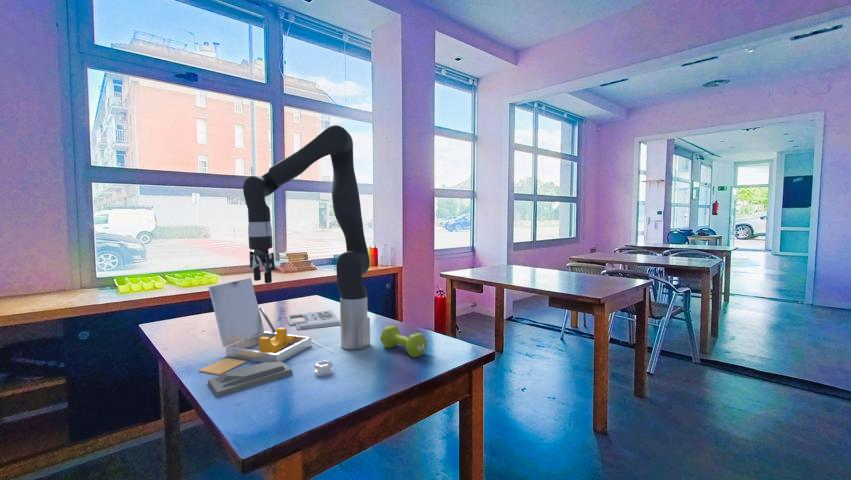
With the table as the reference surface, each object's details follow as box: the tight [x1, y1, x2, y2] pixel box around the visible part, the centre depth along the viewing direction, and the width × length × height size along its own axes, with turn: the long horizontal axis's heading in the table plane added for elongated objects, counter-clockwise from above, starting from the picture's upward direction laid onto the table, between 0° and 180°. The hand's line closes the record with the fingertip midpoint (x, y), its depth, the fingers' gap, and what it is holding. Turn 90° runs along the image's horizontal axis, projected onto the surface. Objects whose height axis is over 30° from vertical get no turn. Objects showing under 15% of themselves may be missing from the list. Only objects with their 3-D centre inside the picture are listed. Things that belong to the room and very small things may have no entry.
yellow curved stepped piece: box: [258, 326, 288, 353], centre depth 131 cm, size 12×4×6 cm, turn 169°
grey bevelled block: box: [206, 360, 293, 398], centre depth 110 cm, size 10×20×4 cm, turn 133°
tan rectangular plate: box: [198, 357, 247, 376], centre depth 118 cm, size 8×10×1 cm
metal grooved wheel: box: [314, 360, 334, 377], centre depth 114 cm, size 5×3×5 cm
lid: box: [207, 277, 265, 348], centre depth 135 cm, size 20×18×1 cm
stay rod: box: [258, 306, 277, 332], centre depth 143 cm, size 7×1×10 cm, turn 70°
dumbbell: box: [380, 324, 428, 358], centre depth 131 cm, size 16×8×7 cm, turn 46°
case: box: [225, 330, 312, 363], centre depth 132 cm, size 20×19×3 cm
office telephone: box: [285, 309, 341, 331], centre depth 167 cm, size 23×3×20 cm
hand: (262, 281), depth 136 cm, fingers open, 8 cm apart
